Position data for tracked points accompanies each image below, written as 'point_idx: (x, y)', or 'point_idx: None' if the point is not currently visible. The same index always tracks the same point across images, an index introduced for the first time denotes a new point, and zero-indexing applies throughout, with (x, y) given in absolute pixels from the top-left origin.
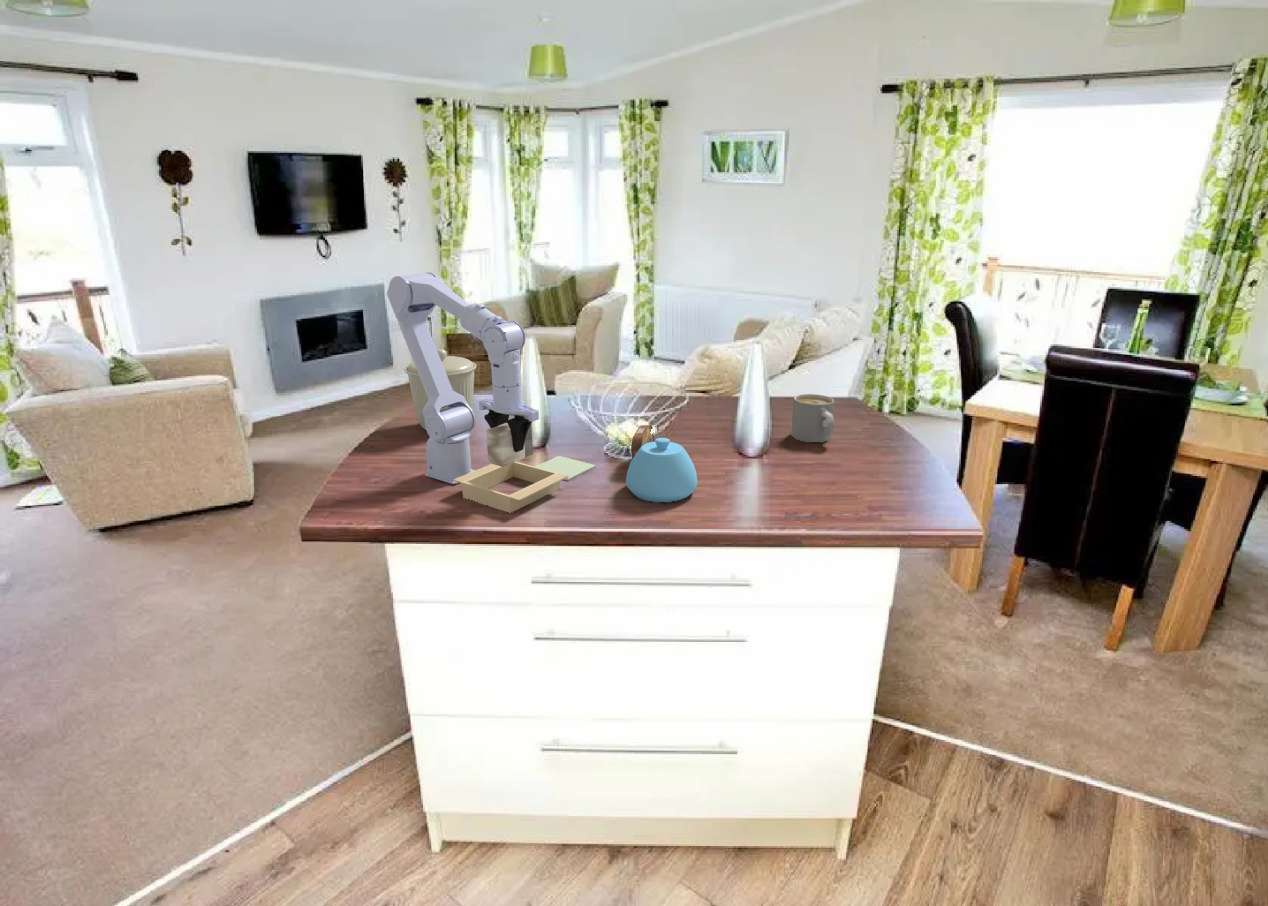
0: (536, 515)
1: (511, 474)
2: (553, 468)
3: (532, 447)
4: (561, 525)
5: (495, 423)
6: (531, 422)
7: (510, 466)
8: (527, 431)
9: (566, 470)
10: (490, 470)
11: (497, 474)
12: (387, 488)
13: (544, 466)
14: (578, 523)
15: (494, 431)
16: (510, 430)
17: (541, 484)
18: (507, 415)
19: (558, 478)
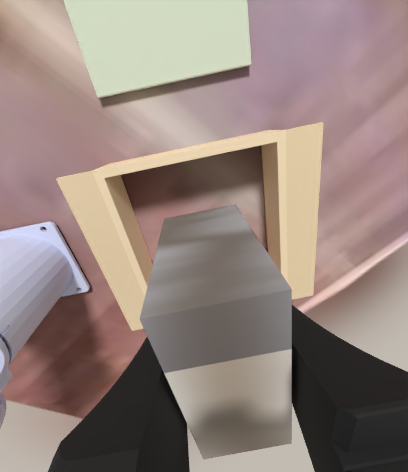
0: (317, 253)
1: (119, 179)
2: (144, 29)
3: (241, 214)
4: (380, 246)
5: (186, 452)
6: (392, 370)
7: (112, 187)
8: (321, 327)
9: (190, 3)
10: (129, 257)
11: (132, 233)
12: (42, 358)
13: (108, 42)
14: (405, 221)
15: (244, 447)
16: (298, 416)
17: (299, 221)
18: (154, 435)
19: (310, 161)
